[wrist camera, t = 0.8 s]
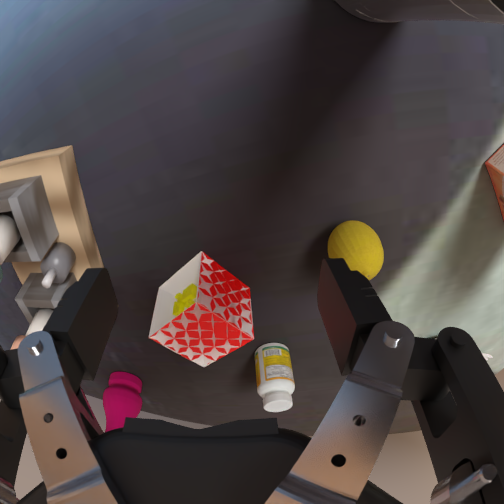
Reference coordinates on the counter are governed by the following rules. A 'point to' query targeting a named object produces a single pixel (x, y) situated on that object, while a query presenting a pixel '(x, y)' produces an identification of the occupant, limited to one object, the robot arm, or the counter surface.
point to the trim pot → (57, 264)
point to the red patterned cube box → (202, 312)
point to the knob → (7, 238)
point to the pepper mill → (121, 399)
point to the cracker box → (497, 175)
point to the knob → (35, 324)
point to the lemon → (357, 247)
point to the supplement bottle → (274, 376)
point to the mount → (46, 222)
